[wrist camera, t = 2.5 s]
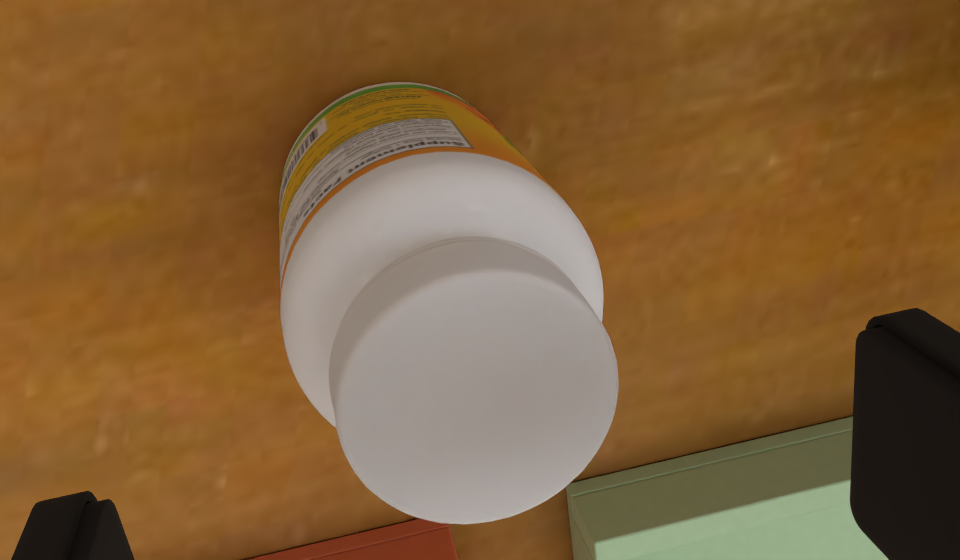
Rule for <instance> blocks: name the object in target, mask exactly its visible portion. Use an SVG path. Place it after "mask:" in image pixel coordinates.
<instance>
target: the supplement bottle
mask: <svg viewBox="0 0 960 560" xmlns="http://www.w3.org/2000/svg"><path fill="white" fill-rule="evenodd" d="M279 241H280V317H281V325H282V331H283V338H284V344H285V348H286V352H287V356H288V359H289V362H290V366H291V368H292V370H293V373H294V375H295V377H296V379H297V381H298V383H299V385H300V387H301V388H302V390H303V392H304V393H305V395H306V396H307V398H308V399H309V401H310V402H311V403H312V405H313V406H314V407H315V408H316V409H317V411H318V412H319V413H320V414H321V415H322V416H323V417H324V418H325V419H326V420H327V421H328V422H329V423H331V424H332V425H333V426H334V427H335V428H336V429H337V433H338V436H339V440H340V444H341V447H342V449H343V452H344V454H345V456H346V458H347V460H348V462H349V464H350V465H351V467H352V469H353V470H354V472H355V473H356V475H357V476H358V477H359V479H360V480H361V481H362V482H363V484H364V485H365V486H366V487H367V488H368V489H369V490H370V491H372V492H373V493H374V494H375V495H376V496H378V497H379V498H380V499H381V500H383V501H384V502H386V503H387V504H389V505H390V506H392V507H394V508H396V509H398V510H400V511H402V512H404V513H406V514H409V515H411V516H414V517H417V518H420V519H424V520H429V521H433V522H438V523H449V524H475V523H483V522H491V521H495V520H499V519H503V518H507V517H511V516H514V515H517V514H519V513H522V512H524V511H526V510H529V509H531V508H533V507H535V506H537V505H539V504H541V503H543V502H545V501H546V500H548V499H550V498H551V497H553V496H554V495H555V494H557V493H558V492H560V491H561V490H562V489H564V488H565V487H566V486H567V485H568V484H569V483H570V482H571V481H572V480H573V479H574V478H576V477H577V476H578V475H579V474H580V473H581V472H582V471H583V470H584V469H585V467H586V466H587V465H588V464H589V462H590V461H591V460H592V459H593V457H594V456H595V454H596V452H597V451H598V449H599V448H600V446H601V445H602V443H603V441H604V439H605V437H606V435H607V433H608V430H609V428H610V425H611V423H612V420H613V417H614V413H615V409H616V403H617V397H618V389H619V385H618V367H617V361H616V356H615V353H614V350H613V346H612V343H611V340H610V337H609V336H608V334H607V332H606V330H605V328H604V326H603V324H602V318H603V300H604V295H603V282H602V276H601V270H600V266H599V262H598V258H597V255H596V253H595V250H594V247H593V245H592V243H591V240H590V238H589V236H588V234H587V233H586V231H585V229H584V227H583V226H582V224H581V222H580V221H579V219H578V218H577V217H576V215H575V214H574V213H573V211H572V210H571V209H570V207H569V206H568V205H567V203H566V202H565V201H564V200H563V199H562V198H561V196H560V195H559V194H558V193H557V192H556V191H555V190H554V189H553V188H552V187H551V186H550V185H549V184H548V183H547V181H546V180H545V179H544V178H543V177H542V176H541V175H540V174H539V173H538V172H537V171H536V170H535V169H534V167H533V166H532V165H531V164H530V163H529V162H528V161H527V160H526V159H525V158H524V157H523V155H522V154H521V153H520V152H519V151H518V150H517V149H516V148H515V147H514V146H513V145H512V144H511V143H510V142H509V141H508V140H507V139H506V137H505V136H504V135H503V134H502V133H501V132H500V131H499V130H498V129H497V128H496V127H495V126H494V125H493V124H492V123H491V122H490V121H489V120H488V119H487V118H486V117H485V116H484V115H483V114H482V113H481V112H479V111H478V110H477V109H476V108H475V107H473V106H472V105H470V104H469V103H468V102H466V101H465V100H463V99H462V98H460V97H459V96H457V95H454V94H452V93H450V92H448V91H446V90H443V89H440V88H437V87H434V86H430V85H427V84H421V83H413V82H389V83H382V84H376V85H371V86H367V87H364V88H361V89H358V90H355V91H353V92H350V93H348V94H346V95H344V96H342V97H340V98H338V99H337V100H335V101H334V102H332V103H331V104H330V105H328V106H327V107H326V108H324V109H323V110H322V111H321V112H319V113H318V114H317V115H316V116H315V117H314V118H313V119H312V120H311V121H310V122H309V124H308V125H307V126H306V127H305V128H304V130H303V131H302V132H301V134H300V135H299V137H298V138H297V140H296V142H295V143H294V145H293V147H292V149H291V151H290V153H289V156H288V158H287V161H286V164H285V167H284V171H283V175H282V180H281V186H280V194H279Z"/></svg>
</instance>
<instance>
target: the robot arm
mask: <svg viewBox="0 0 960 560" xmlns="http://www.w3.org/2000/svg"><path fill="white" fill-rule="evenodd" d="M850 507H851V511H852V514H853V517H854V519H855V521H856V523H857V525H858V527H859V528H860V529H861V530H862V532H863V533H864V534H865V535H866V536H867V537H868V538H869V539H870V540H871V541H872V542H873V543H874V544H875V545H876V547H877V548H878V549H879V550H880V551H881V552H882V553H883V554H884V555H885V556H886V557H887V558H888V559H889V560H960V333H959V332H957V331H956V330H954V329H952V328H951V327H949V326H947V325H946V324H944V323H943V322H941V321H939V320H938V319H936V318H935V317H933V316H931V315H930V314H928V313H927V312H925V311H923V310H920V309H918V308H914V309H908V310H903V311H899V312H894V313H890V314H885V315H881V316H876V317H873V318H872V319H871V320H869V322H868V324H867V326H866V330H865V331H862V332H860V333H859V335H858V337H857V340H856V354H855V379H854V405H853V430H852V456H851V481H850ZM11 560H134V557H133V554H132V551H131V549H130V546H129V543H128V540H127V537H126V535H125V532H124V529H123V526H122V523H121V521H120V518H119V515H118V512H117V510H116V507H115V505H114V503H113V502H112V501H111V500H109V499H107V500H102V501H97V499H96V497H95V496H94V495H93V493H92V492H89V491H85V492H80V493H76V494H71V495H67V496H62V497H58V498H53V499H49V500H44V501H40V502H38V503H36V504H35V505H34V507H33V509H32V511H31V513H30V516H29V518H28V520H27V523H26V525H25V528H24V530H23V533H22V535H21V537H20V540H19V542H18V545H17V547H16V549H15V552H14V554H13V557H12V559H11Z"/></svg>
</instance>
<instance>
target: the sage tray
mask: <svg viewBox="0 0 960 560" xmlns="http://www.w3.org/2000/svg"><path fill="white" fill-rule="evenodd" d="M852 430H853V416H852V417H848V418H844V419H839V420H835V421H831V422H827V423H823V424H818V425H814V426H810V427H806V428H801V429H797V430H793V431H789V432H785V433H780V434H776V435H772V436H768V437H763V438H759V439H755V440H751V441H747V442H742V443H738V444H734V445H730V446H725V447H721V448H717V449H713V450H709V451H704V452H700V453H696V454H692V455H687V456H683V457H679V458H675V459H671V460H666V461H662V462H658V463H654V464H649V465H645V466H641V467H637V468H633V469H628V470H624V471H620V472H616V473H612V474H607V475H603V476H599V477H595V478H590V479H586V480H582V481H578V482H574V483H569V484H568V485H567V486H566V495H567V504H568V513H569V522H570V532H571V541H572V550H573V560H889V559H888V558H887V557H886V556H885V555H884V554H883V553H882V552H881V551H880V550H879V549H878V548H877V547H876V545H875V544H874V543H873V542H872V541H871V540H870V539H869V538H868V537H867V536H866V535H865V534H864V533H863V532H862V530H861V529H860V528H859V527H858V525H857V523H856V521H855V519H854V517H853V514H852V511H851V507H850V481H851V456H852Z"/></svg>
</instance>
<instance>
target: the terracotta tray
mask: <svg viewBox="0 0 960 560" xmlns="http://www.w3.org/2000/svg"><path fill="white" fill-rule="evenodd" d="M248 560H458V556H457V552H456V549H455V545H454V541H453V538H452V534H451V530H450V527H449V523H438V522H433V521H429V520H424V519H416V520H412V521H408V522H404V523H400V524H395V525H391V526H387V527H383V528H378V529H374V530H370V531H366V532H362V533H357V534H353V535H349V536H345V537H340V538H336V539H332V540H328V541H324V542H319V543H315V544H311V545H307V546H303V547H298V548H294V549H290V550H286V551H281V552H277V553H273V554H269V555H265V556H260V557H256V558H252V559H248Z"/></svg>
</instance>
